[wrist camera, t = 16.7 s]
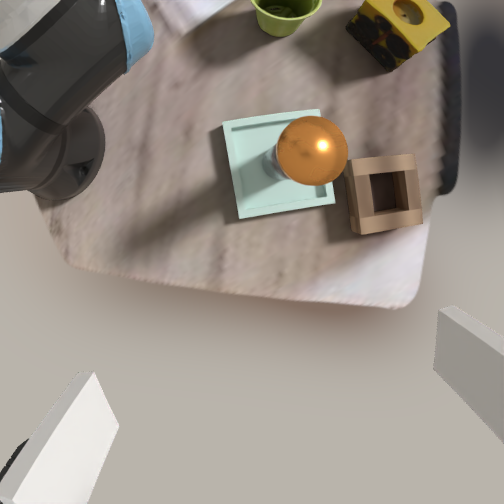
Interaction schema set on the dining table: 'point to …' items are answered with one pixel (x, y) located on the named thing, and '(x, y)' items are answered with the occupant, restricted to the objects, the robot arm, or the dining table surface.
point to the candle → (396, 29)
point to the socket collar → (404, 188)
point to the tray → (253, 175)
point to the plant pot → (283, 14)
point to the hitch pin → (307, 152)
